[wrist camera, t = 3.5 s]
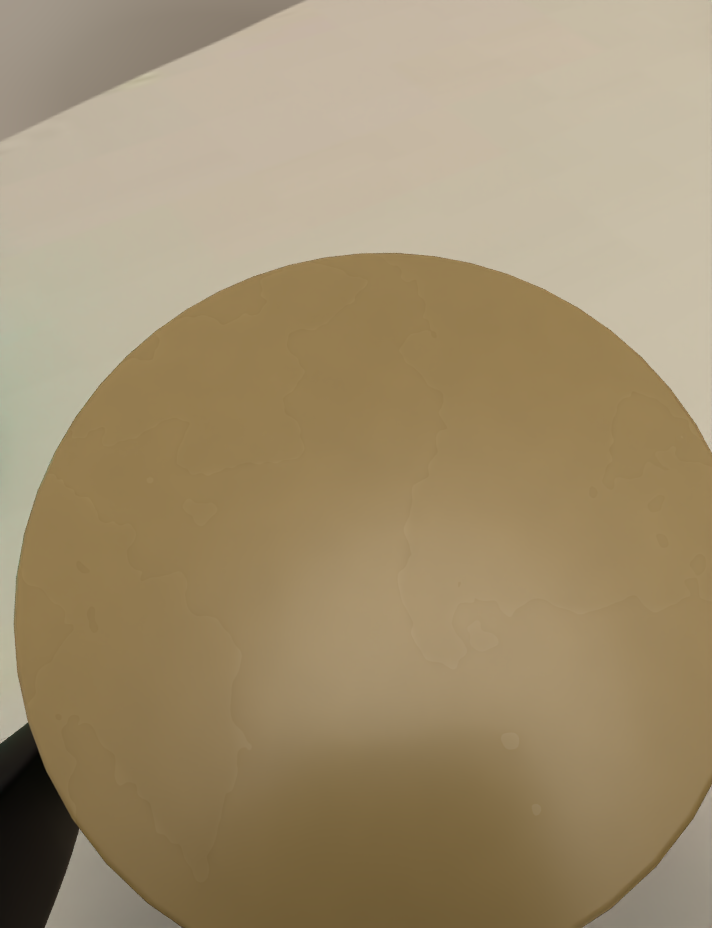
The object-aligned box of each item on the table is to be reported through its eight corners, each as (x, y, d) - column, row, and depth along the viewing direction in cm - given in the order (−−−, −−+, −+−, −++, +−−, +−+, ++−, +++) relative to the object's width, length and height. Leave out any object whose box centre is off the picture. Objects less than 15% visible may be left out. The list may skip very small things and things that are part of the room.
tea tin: (454, 805, 15) (692, 1229, 3) (256, 713, 16) (-147, 743, 4) (513, 594, 17) (789, 337, 5) (335, 528, 18) (218, 199, 6)
